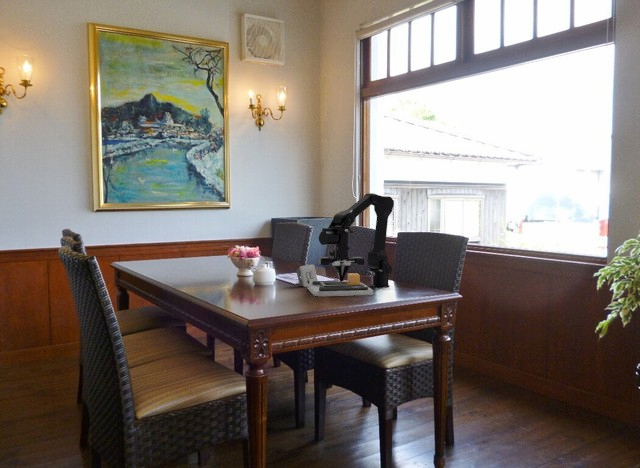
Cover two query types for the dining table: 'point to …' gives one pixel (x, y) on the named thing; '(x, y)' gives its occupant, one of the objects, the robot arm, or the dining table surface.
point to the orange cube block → (353, 279)
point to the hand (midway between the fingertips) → (341, 281)
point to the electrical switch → (306, 275)
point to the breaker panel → (338, 288)
